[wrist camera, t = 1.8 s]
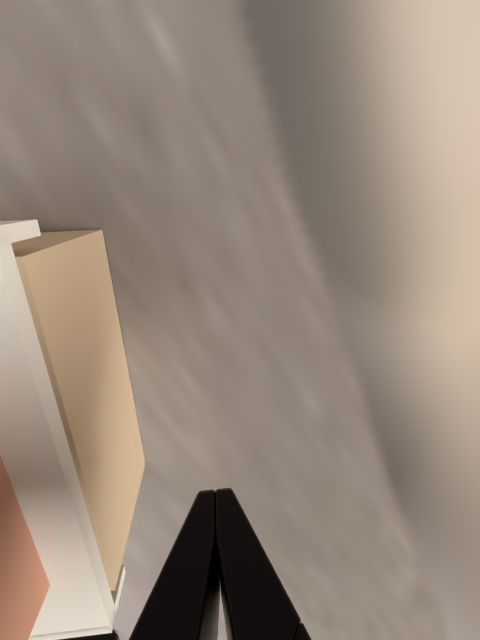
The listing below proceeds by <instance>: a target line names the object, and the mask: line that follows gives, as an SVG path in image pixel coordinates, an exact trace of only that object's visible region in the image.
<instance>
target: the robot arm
mask: <svg viewBox="0 0 480 640" xmlns="http://www.w3.org/2000/svg"><path fill="white" fill-rule="evenodd" d="M220 586H221V596H222V604H223V611H224V618H225V625H226V632H227V639H228V640H311V638H310V636H309V634H308V632H307V630H306V628H305V627H304V625H303V623H301V620H300V617H299V616H298V614H297V612H296V610H295V608H294V606H293V604H292V602H291V600H290V598H289V597H288V595H287V593H286V591H285V589H284V587H283V585H282V583H281V581H280V579H279V578H278V576H277V574H276V572H275V570H274V568H273V566H272V564H271V562H270V560H269V558H268V557H267V555H266V553H265V551H264V549H263V547H262V545H261V543H260V541H259V539H258V538H257V536H256V534H255V532H254V530H253V528H252V526H251V524H250V522H249V520H248V519H247V517H246V515H245V513H244V511H243V509H242V507H241V505H240V503H239V501H238V500H237V498H236V496H235V494H234V492H233V490H232V489H231V488H223V489H217V490H216V492H215V491H214V490H204V491H200V492H199V493H198V494H197V496H196V498H195V500H194V503H193V505H192V507H191V509H190V511H189V513H188V515H187V517H186V519H185V522H184V524H183V526H182V528H181V530H180V532H179V534H178V536H177V539H176V541H175V543H174V545H173V547H172V549H171V551H170V553H169V556H168V558H167V560H166V562H165V564H164V566H163V568H162V570H161V572H160V575H159V577H158V579H157V581H156V583H155V585H154V587H153V589H152V592H151V594H150V596H149V598H148V600H147V602H146V604H145V606H144V608H143V611H142V613H141V615H140V617H139V619H138V621H137V623H136V625H135V628H134V630H133V632H132V634H131V636H130V638H129V640H217V636H218V620H219V604H220ZM59 640H119V637H118V635H117V634H116V633H106V634H98V635H90V636H82V637H74V638H67V639H59Z"/></svg>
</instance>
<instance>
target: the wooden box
mask: <svg viewBox="0 0 480 640" xmlns="http://www.w3.org/2000/svg"><path fill="white" fill-rule="evenodd" d="M40 233H41V236H37V237H33V238H29V239H25V240H21V241H17V242H14V243H11V245H12V249H13V252H14V256H15V259H16V263H17V266H18V270H19V273H20V277H21V280H22V284H23V287H24V291H25V294H26V298H27V301H28V305H29V308H30V312H31V315H32V319H33V322H34V326H35V329H36V333H37V336H38V340H39V343H40V347H41V350H42V354H43V357H44V361H45V364H46V368H47V371H48V375H49V378H50V382H51V385H52V389H53V392H54V396H55V399H56V403H57V406H58V410H59V413H60V417H61V420H62V424H63V427H64V431H65V434H66V438H67V441H68V445H69V448H70V452H71V455H72V459H73V462H74V466H75V469H76V473H77V476H78V480H79V483H80V487H81V490H82V494H83V497H84V501H85V504H86V508H87V511H88V515H89V518H90V522H91V525H92V529H93V532H94V536H95V539H96V543H97V546H98V550H99V553H100V557H101V560H102V564H103V567H104V571H105V574H106V578H107V581H108V585H109V588H110V591H113V590H115V588H116V584H117V580H118V576H119V572H120V568H121V563H122V559H123V555H124V551H125V547H126V542H127V538H128V534H129V530H130V526H131V521H132V517H133V513H134V509H135V505H136V501H137V496H138V492H139V488H140V484H141V480H142V475H143V471H144V467H145V459H144V453H143V448H142V443H141V437H140V432H139V426H138V421H137V416H136V410H135V405H134V399H133V394H132V388H131V383H130V378H129V372H128V367H127V361H126V356H125V351H124V345H123V340H122V334H121V329H120V324H119V318H118V313H117V307H116V302H115V296H114V291H113V286H112V280H111V275H110V269H109V264H108V259H107V253H106V248H105V242H104V237H103V232H102V229H99V230H79V231H58V232H40Z"/></svg>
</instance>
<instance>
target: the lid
mask: <svg viewBox="0 0 480 640" xmlns="http://www.w3.org/2000/svg"><path fill="white" fill-rule="evenodd" d="M37 236H41V233H40V229H39V225H38V221H37V219H35V220H13V221H0V640H59V639H67V638H74V637H82V636H90V635H98V634H106V633H112V630H113V626H114V621H115V617H116V612H117V608H118V604H119V599H120V595H121V590H122V586H123V581H124V577H125V572H126V571H125V567H124V565H121V568H120V572H119V576H118V580H117V584H116V588H115V590H113V591H110V588H109V585H108V581H107V578H106V574H105V571H104V567H103V564H102V560H101V557H100V553H99V550H98V546H97V543H96V539H95V536H94V532H93V529H92V525H91V522H90V518H89V515H88V511H87V508H86V504H85V501H84V497H83V494H82V490H81V487H80V483H79V480H78V476H77V473H76V469H75V466H74V462H73V459H72V455H71V452H70V448H69V445H68V441H67V438H66V434H65V431H64V427H63V424H62V420H61V417H60V413H59V410H58V406H57V403H56V399H55V396H54V392H53V389H52V385H51V382H50V378H49V375H48V371H47V368H46V364H45V361H44V357H43V354H42V350H41V347H40V343H39V340H38V336H37V333H36V329H35V326H34V322H33V319H32V315H31V312H30V308H29V305H28V301H27V298H26V294H25V291H24V287H23V284H22V280H21V277H20V273H19V270H18V266H17V263H16V259H15V256H14V252H13V249H12V245H11V243H14V242H17V241H21V240H25V239H29V238H33V237H37Z"/></svg>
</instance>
